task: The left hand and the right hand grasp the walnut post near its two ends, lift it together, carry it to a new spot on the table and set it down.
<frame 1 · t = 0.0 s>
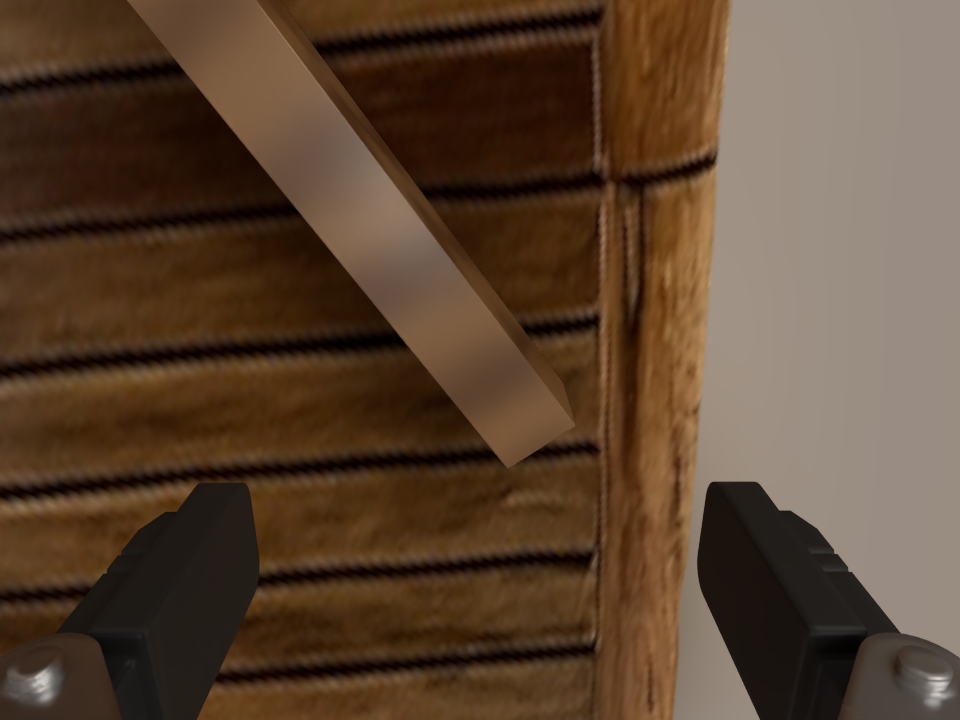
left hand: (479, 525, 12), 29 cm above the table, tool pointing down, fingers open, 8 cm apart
post: (244, 25, 35), on the table
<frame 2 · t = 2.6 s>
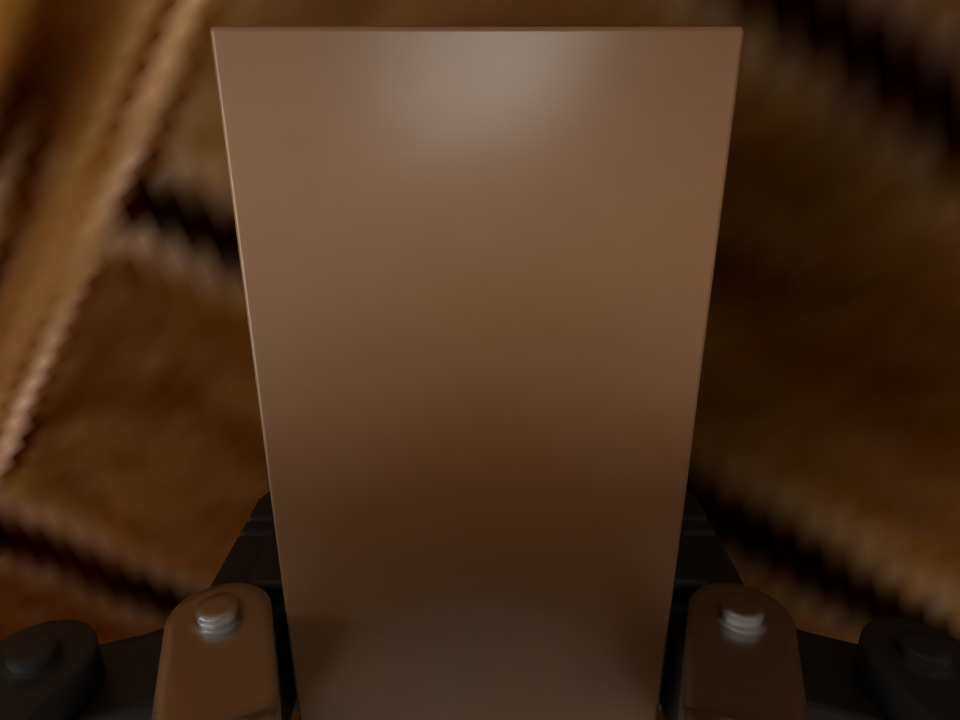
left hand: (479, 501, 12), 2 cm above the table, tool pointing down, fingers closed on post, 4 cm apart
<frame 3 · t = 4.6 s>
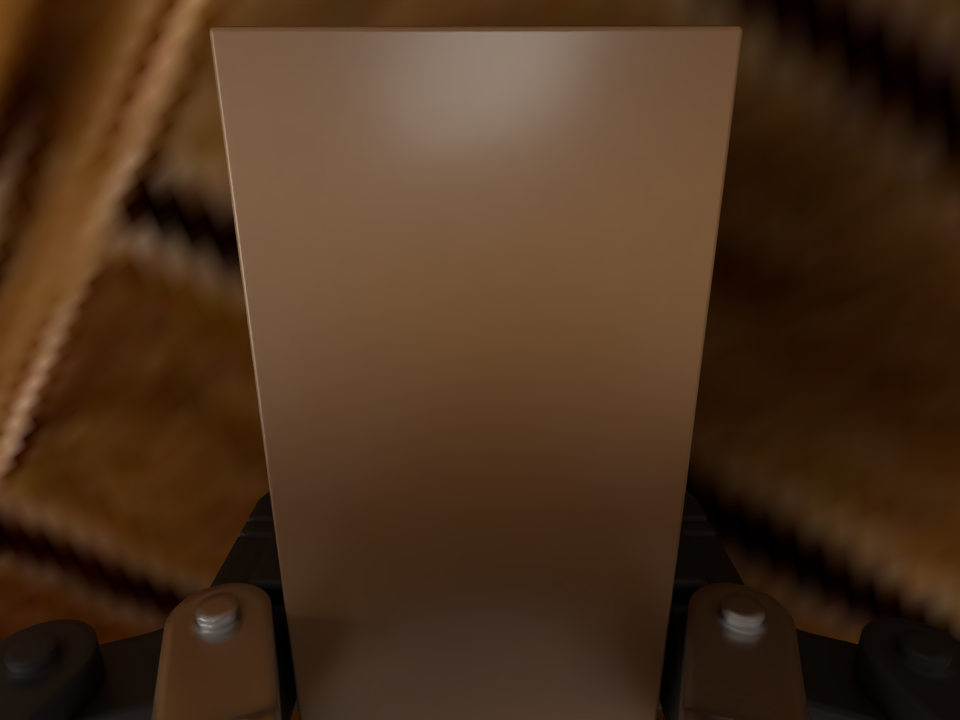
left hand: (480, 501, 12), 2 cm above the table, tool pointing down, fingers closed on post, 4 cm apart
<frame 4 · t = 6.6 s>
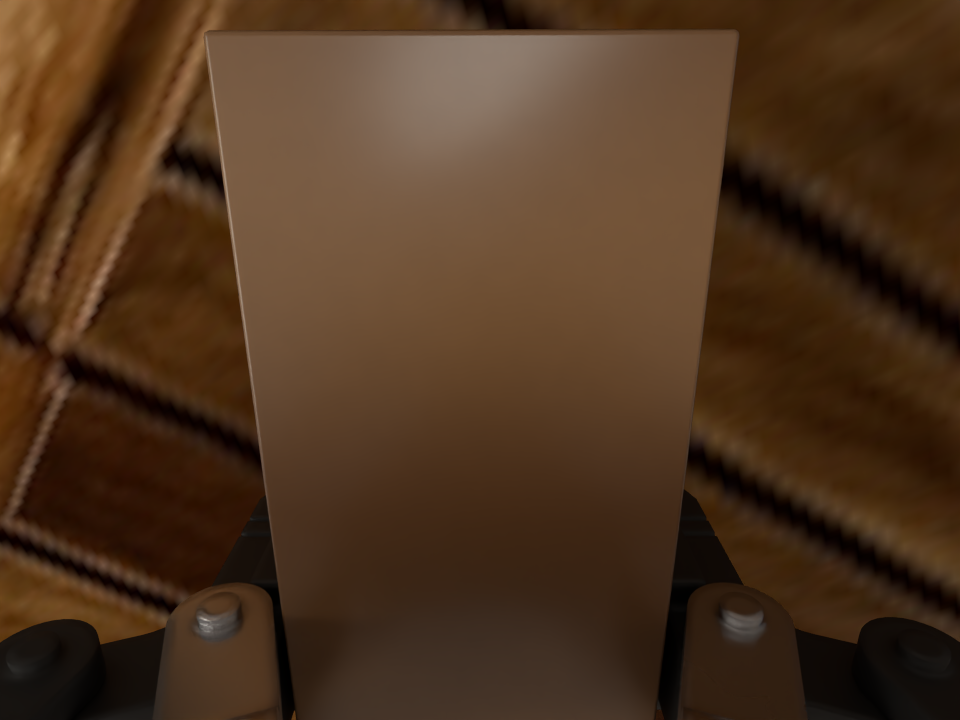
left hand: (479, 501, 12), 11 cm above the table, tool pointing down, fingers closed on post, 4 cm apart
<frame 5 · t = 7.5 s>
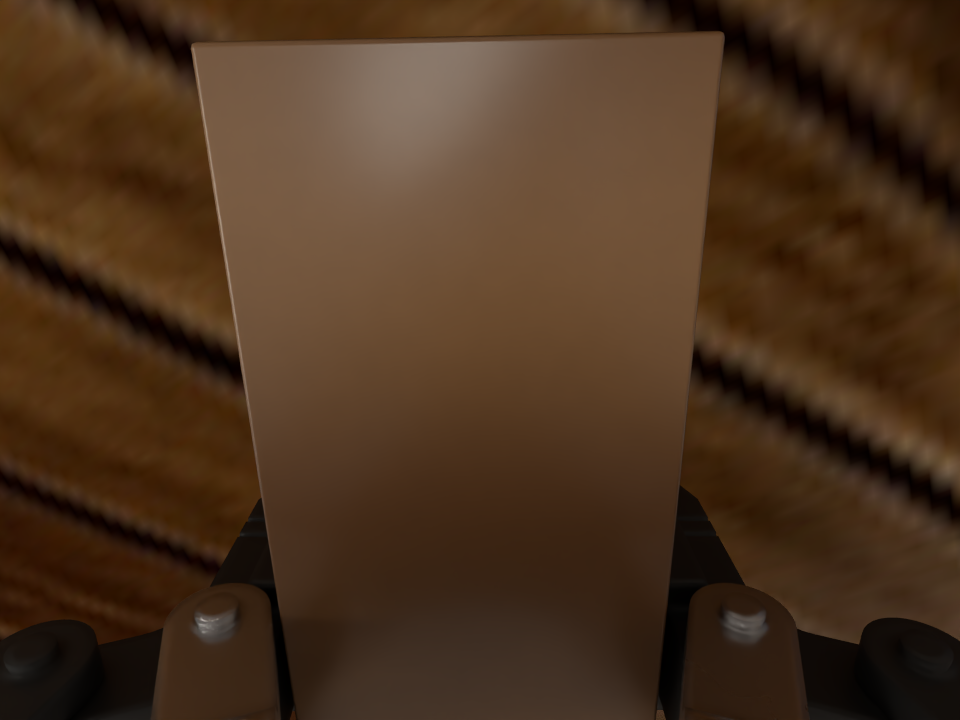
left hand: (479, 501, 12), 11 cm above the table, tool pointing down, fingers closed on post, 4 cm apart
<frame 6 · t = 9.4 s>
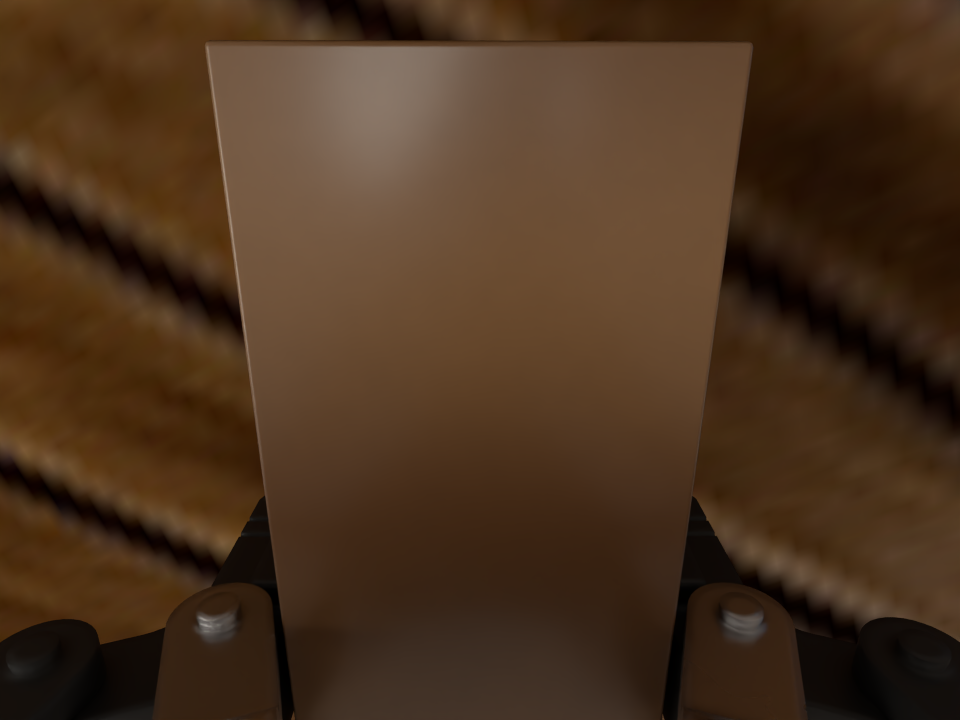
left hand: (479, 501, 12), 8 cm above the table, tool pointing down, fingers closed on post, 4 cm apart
when the right hand's fingers open (3 cm above the table, at t = 10.6 s): post stays where it is, on the table.
when the left hand's fingers open (3 cm above the table, at t = 10.7 s): post stays where it is, on the table.
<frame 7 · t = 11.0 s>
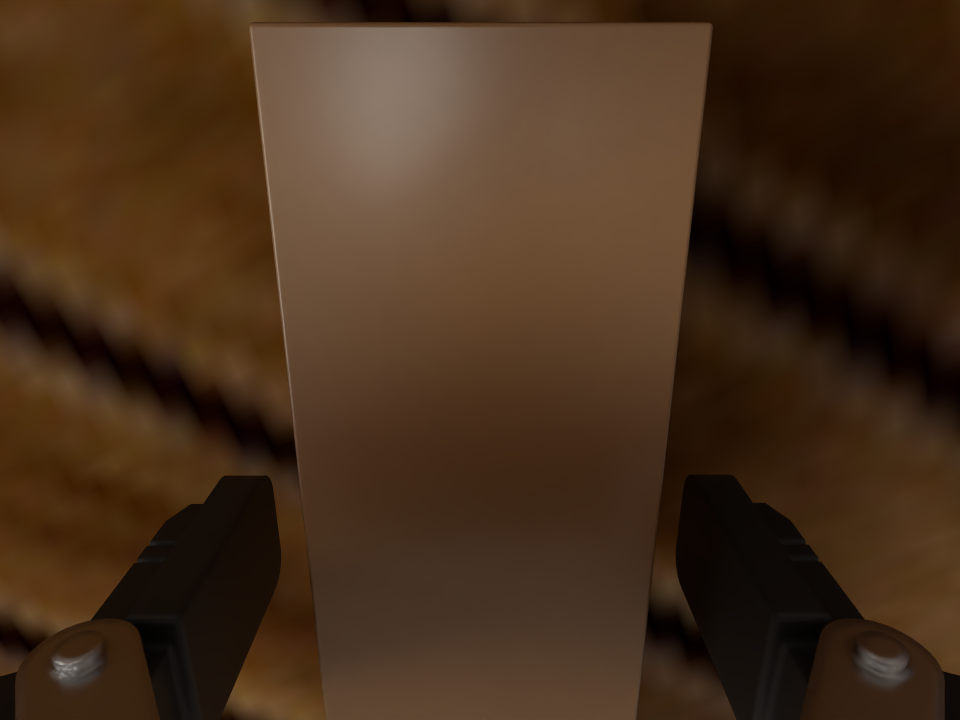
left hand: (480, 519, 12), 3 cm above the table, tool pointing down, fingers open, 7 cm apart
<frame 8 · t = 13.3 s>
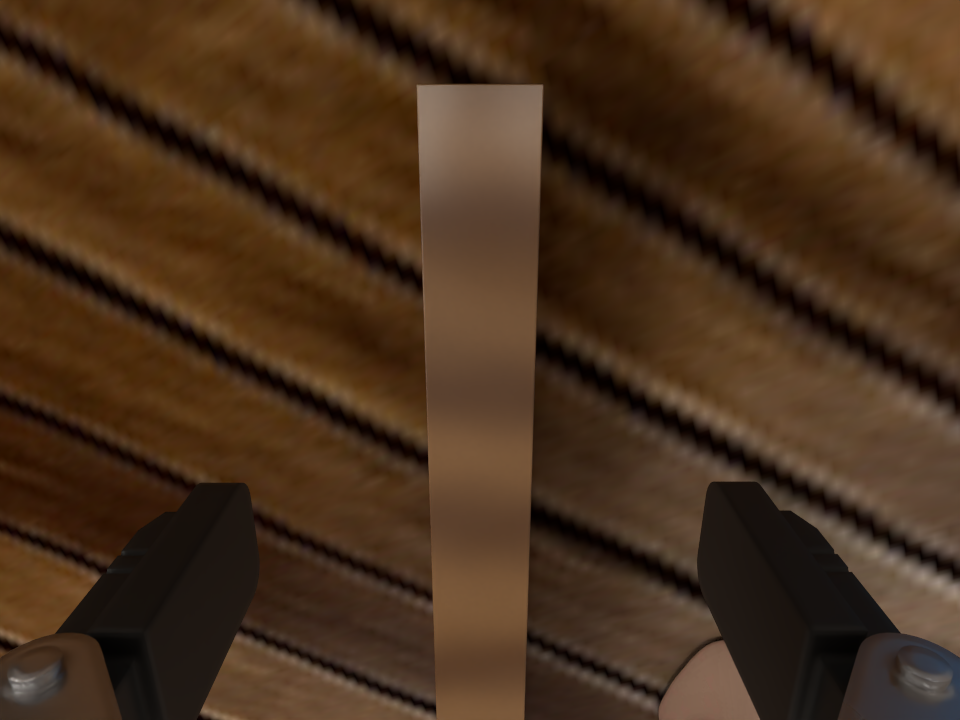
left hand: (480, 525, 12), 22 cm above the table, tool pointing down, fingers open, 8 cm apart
anatomical model: (743, 716, 43), on the table
post: (480, 581, 39), on the table
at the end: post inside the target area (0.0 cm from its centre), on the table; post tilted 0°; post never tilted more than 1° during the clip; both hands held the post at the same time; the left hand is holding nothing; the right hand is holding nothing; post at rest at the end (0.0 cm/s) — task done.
